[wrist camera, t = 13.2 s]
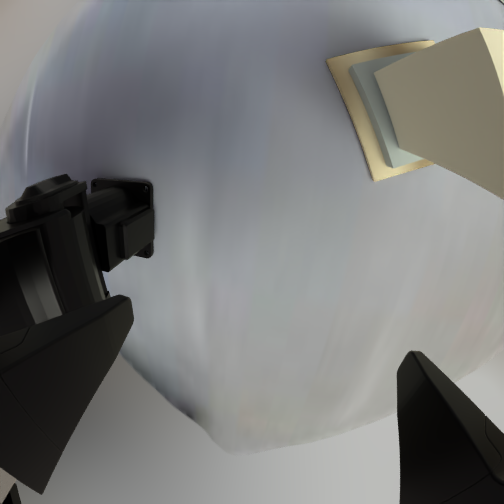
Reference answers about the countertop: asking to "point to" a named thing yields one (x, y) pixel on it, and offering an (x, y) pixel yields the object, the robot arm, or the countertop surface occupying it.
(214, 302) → the countertop surface
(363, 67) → the slate slab
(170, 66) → the countertop surface
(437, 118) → the cream block
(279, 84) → the countertop surface
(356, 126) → the birch slab
